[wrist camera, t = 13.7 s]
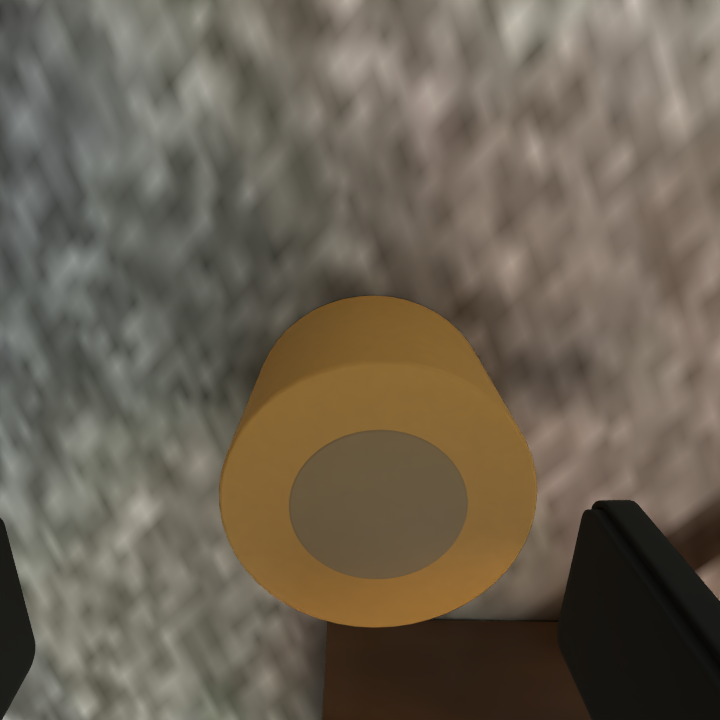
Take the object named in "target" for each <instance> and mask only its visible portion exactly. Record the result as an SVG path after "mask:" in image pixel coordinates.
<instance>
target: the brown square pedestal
mask: <svg viewBox="0 0 720 720" xmlns="http://www.w3.org/2000/svg"><path fill="white" fill-rule="evenodd" d="M557 627H558V622H543V621H474V620H426V621H422V622H418V623H413V624H408V625H401V626H394V627H375V628H374V627H355V626H349V625H343V624H337V623H333V622H329V621H327V633H326V651H325V669H324V688H323V706H322V720H592V719H591V717H590V715H589V713H588V710H587V708H586V706H585V704H584V702H583V699H582V697H581V695H580V693H579V691H578V688H577V686H576V684H575V682H574V680H573V677H572V675H571V673H570V671H569V669H568V667H567V664H566V662H565V660H564V658H563V656H562V653H561V651H560V648H559V644H558V638H557Z"/></svg>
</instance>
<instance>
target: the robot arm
mask: <svg viewBox="0 0 720 720" xmlns="http://www.w3.org/2000/svg"><path fill="white" fill-rule="evenodd" d="M557 638H558V644H559V648H560V651H561V653H562V656H563V658H564V660H565V662H566V664H567V667H568V669H569V671H570V673H571V675H572V677H573V680H574V682H575V684H576V686H577V688H578V691H579V693H580V695H581V697H582V699H583V702H584V704H585V706H586V708H587V710H588V713H589V715H590V717H591V719H592V720H720V601H719V600H718V599H717V598H716V596H715V595H714V594H713V593H712V592H711V590H710V589H709V588H708V587H707V586H706V585H705V583H704V582H703V581H702V580H701V579H700V577H699V576H698V575H697V574H696V573H695V572H694V570H693V569H692V568H691V567H690V566H689V564H688V563H687V562H686V561H685V560H684V558H683V557H682V556H681V555H680V554H679V553H678V551H677V550H676V549H675V548H674V547H673V545H672V544H671V543H670V542H669V541H668V540H667V538H666V537H665V536H664V535H663V534H662V532H661V531H660V530H659V529H658V528H657V527H656V525H655V524H654V523H653V522H652V521H651V519H650V518H649V517H648V516H647V515H646V513H645V512H644V511H643V510H642V509H641V508H640V506H639V505H638V504H637V503H635V502H634V501H631V500H601V501H596V502H595V503H594V504H593V506H592V509H591V510H585V511H584V513H583V515H582V519H581V523H580V528H579V532H578V537H577V541H576V546H575V550H574V555H573V559H572V564H571V568H570V573H569V577H568V582H567V586H566V591H565V595H564V600H563V604H562V609H561V613H560V618H559V622H558V627H557ZM34 655H35V640H34V636H33V632H32V628H31V624H30V620H29V616H28V613H27V609H26V605H25V601H24V597H23V593H22V589H21V586H20V582H19V578H18V574H17V570H16V566H15V563H14V559H13V555H12V551H11V547H10V543H9V539H8V536H7V532H6V528H5V524H4V522H3V520H2V519H1V518H0V720H2V719H3V717H4V715H5V713H6V711H7V710H8V708H9V706H10V704H11V702H12V701H13V699H14V697H15V695H16V693H17V691H18V690H19V688H20V686H21V684H22V682H23V680H24V679H25V677H26V675H27V673H28V671H29V669H30V667H31V665H32V662H33V659H34Z"/></svg>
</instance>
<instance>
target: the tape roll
mask: <svg viewBox="0 0 720 720" xmlns="http://www.w3.org/2000/svg"><path fill="white" fill-rule="evenodd" d="M536 498H537V482H536V472H535V467H534V463H533V459H532V455H531V453H530V450H529V448H528V445H527V443H526V441H525V438H524V436H523V435H522V433H521V431H520V429H519V428H518V426H517V424H516V423H515V421H514V419H513V417H512V416H511V414H510V412H509V410H508V409H507V407H506V405H505V404H504V402H503V400H502V398H501V397H500V395H499V393H498V391H497V390H496V388H495V386H494V385H493V383H492V381H491V379H490V378H489V376H488V374H487V372H486V371H485V369H484V367H483V366H482V364H481V362H480V360H479V359H478V357H477V355H476V354H475V352H474V350H473V349H472V347H471V345H470V344H469V342H468V341H467V340H466V339H465V337H464V336H463V335H462V334H461V333H460V331H459V330H458V329H456V328H455V327H454V326H453V325H452V324H451V323H450V322H449V321H447V320H446V319H445V318H443V317H442V316H440V315H439V314H437V313H436V312H434V311H432V310H430V309H428V308H426V307H424V306H422V305H419V304H416V303H413V302H411V301H408V300H404V299H399V298H394V297H387V296H358V297H352V298H347V299H342V300H338V301H335V302H332V303H329V304H326V305H324V306H322V307H320V308H318V309H315V310H313V311H311V312H310V313H308V314H307V315H305V316H304V317H302V318H300V319H299V320H298V321H297V322H295V323H294V324H293V325H292V326H291V327H290V328H288V329H287V330H286V331H285V333H284V334H283V335H282V336H281V337H280V338H279V339H278V340H277V342H276V343H275V345H274V346H273V348H272V349H271V351H270V352H269V354H268V356H267V358H266V360H265V362H264V364H263V366H262V369H261V371H260V374H259V376H258V379H257V381H256V384H255V386H254V388H253V391H252V393H251V396H250V398H249V401H248V403H247V405H246V408H245V410H244V413H243V415H242V418H241V420H240V423H239V425H238V427H237V430H236V432H235V435H234V437H233V440H232V442H231V444H230V447H229V449H228V452H227V455H226V458H225V461H224V464H223V468H222V472H221V479H220V486H219V506H220V512H221V518H222V523H223V526H224V529H225V532H226V535H227V538H228V541H229V543H230V545H231V547H232V549H233V551H234V553H235V555H236V557H237V558H238V559H239V561H240V562H241V564H242V565H243V567H244V568H245V570H246V571H247V572H248V573H249V574H250V575H251V576H252V577H253V578H254V579H255V581H256V582H257V583H258V584H259V585H261V586H262V587H263V588H264V589H265V590H267V591H268V592H269V593H270V594H271V595H273V596H274V597H276V598H277V599H279V600H280V601H282V602H283V603H285V604H286V605H288V606H290V607H292V608H294V609H296V610H298V611H300V612H302V613H305V614H308V615H310V616H313V617H315V618H318V619H321V620H325V621H329V622H333V623H337V624H343V625H349V626H355V627H374V628H375V627H394V626H401V625H408V624H413V623H418V622H422V621H426V620H430V619H432V618H435V617H438V616H441V615H443V614H446V613H448V612H451V611H453V610H455V609H457V608H459V607H461V606H463V605H465V604H466V603H468V602H469V601H471V600H473V599H474V598H476V597H477V596H479V595H480V594H482V593H483V592H484V591H485V590H487V589H488V588H489V587H490V586H492V585H493V584H494V583H495V582H496V581H497V580H498V579H499V578H500V577H501V576H502V575H503V574H504V573H505V572H506V570H507V569H508V568H509V567H510V565H511V564H512V563H513V561H514V560H515V559H516V557H517V556H518V554H519V552H520V550H521V549H522V547H523V545H524V543H525V541H526V539H527V536H528V534H529V531H530V529H531V526H532V522H533V517H534V513H535V509H536Z"/></svg>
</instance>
